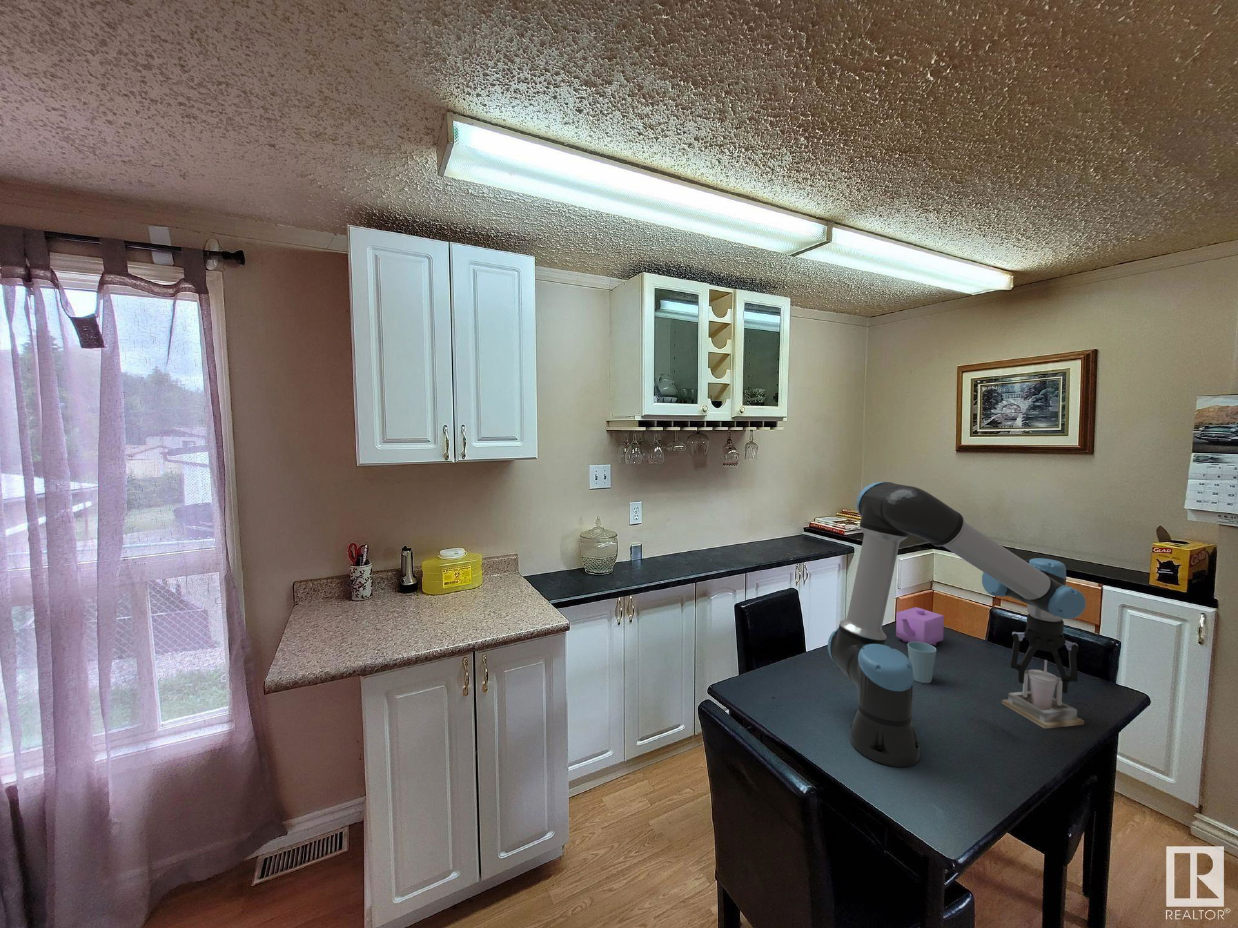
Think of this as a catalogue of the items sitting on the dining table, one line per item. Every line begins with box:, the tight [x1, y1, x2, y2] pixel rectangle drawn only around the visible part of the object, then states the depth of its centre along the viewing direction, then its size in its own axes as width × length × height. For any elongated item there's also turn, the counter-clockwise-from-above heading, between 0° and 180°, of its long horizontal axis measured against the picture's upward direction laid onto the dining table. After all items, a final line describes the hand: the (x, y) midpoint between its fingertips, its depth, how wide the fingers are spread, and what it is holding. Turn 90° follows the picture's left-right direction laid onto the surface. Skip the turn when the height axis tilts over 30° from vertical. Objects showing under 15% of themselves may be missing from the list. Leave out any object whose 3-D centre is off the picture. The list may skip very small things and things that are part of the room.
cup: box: [907, 642, 937, 684], centre depth 151 cm, size 8×8×10 cm
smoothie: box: [1027, 659, 1059, 710], centre depth 131 cm, size 6×6×14 cm
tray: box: [1001, 690, 1085, 729], centre depth 132 cm, size 12×12×4 cm
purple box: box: [895, 606, 945, 646], centre depth 176 cm, size 20×10×12 cm, turn 117°
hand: (1041, 698), depth 131 cm, fingers closed on smoothie, 6 cm apart
